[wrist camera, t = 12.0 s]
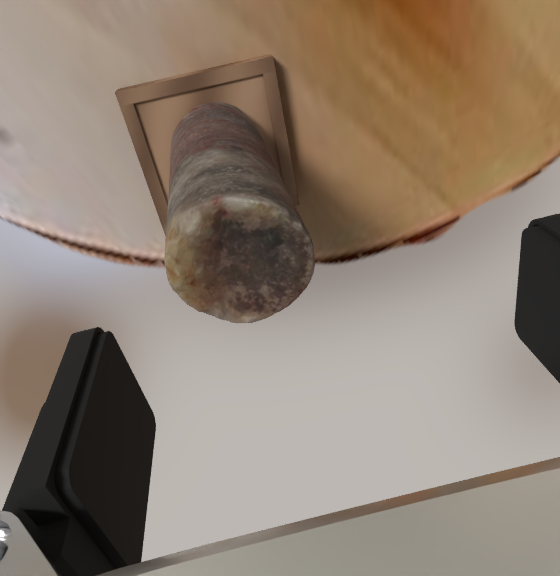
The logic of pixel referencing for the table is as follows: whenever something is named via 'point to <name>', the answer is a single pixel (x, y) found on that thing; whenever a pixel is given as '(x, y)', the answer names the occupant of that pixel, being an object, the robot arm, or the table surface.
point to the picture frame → (196, 91)
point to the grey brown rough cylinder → (231, 220)
